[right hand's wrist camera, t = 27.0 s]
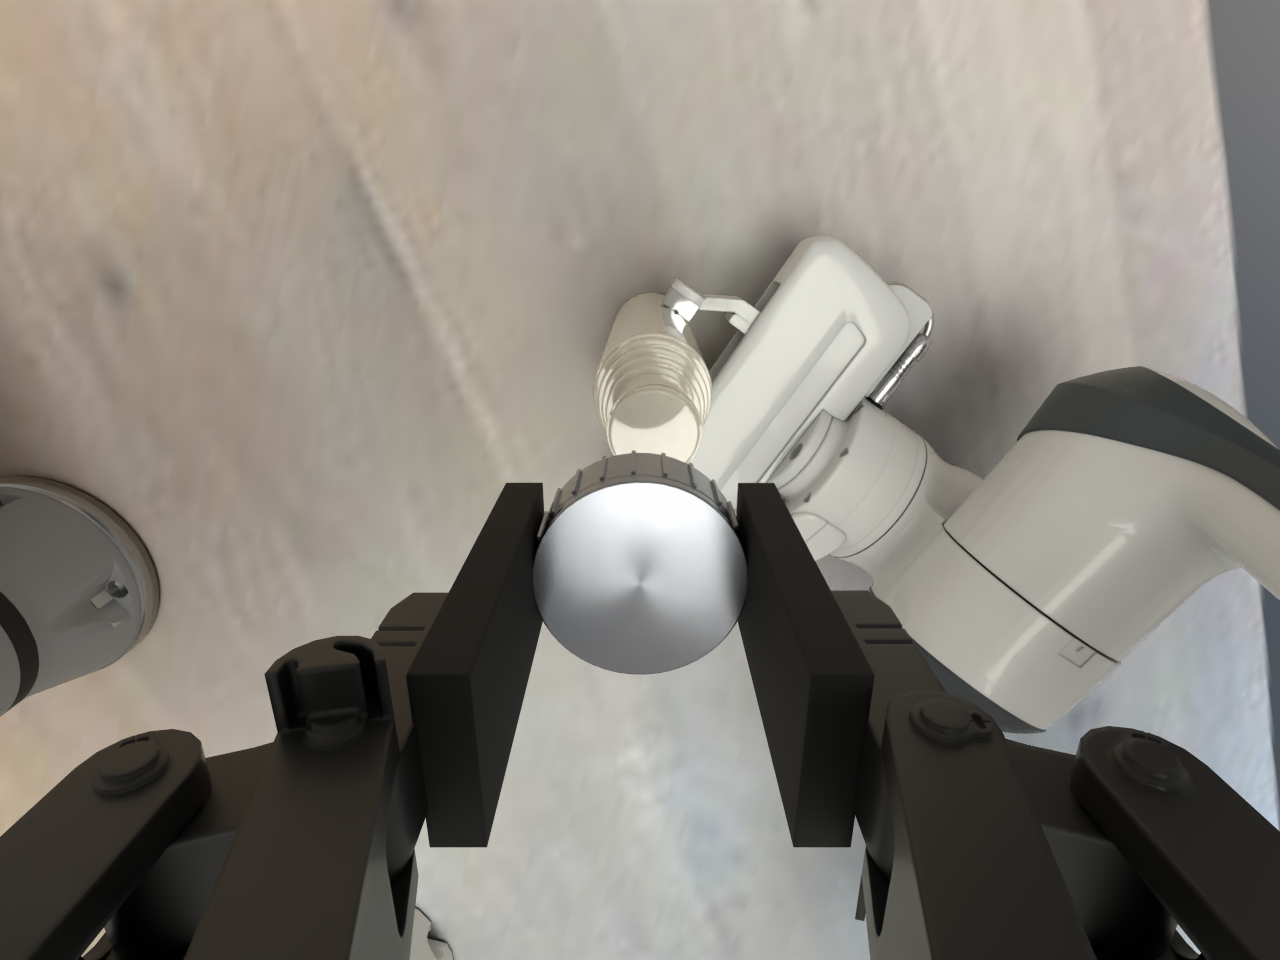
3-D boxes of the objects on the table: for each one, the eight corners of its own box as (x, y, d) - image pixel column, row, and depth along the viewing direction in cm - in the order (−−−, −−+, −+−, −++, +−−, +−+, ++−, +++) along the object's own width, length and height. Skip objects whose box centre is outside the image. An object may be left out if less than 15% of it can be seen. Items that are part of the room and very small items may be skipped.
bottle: (696, 356, 45) (743, 482, 23) (625, 376, 45) (604, 519, 23) (676, 283, 43) (707, 341, 21) (603, 305, 43) (559, 384, 22)
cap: (543, 441, 14) (530, 469, 12) (752, 457, 14) (767, 488, 12) (537, 622, 15) (525, 669, 14) (727, 635, 15) (737, 683, 14)
